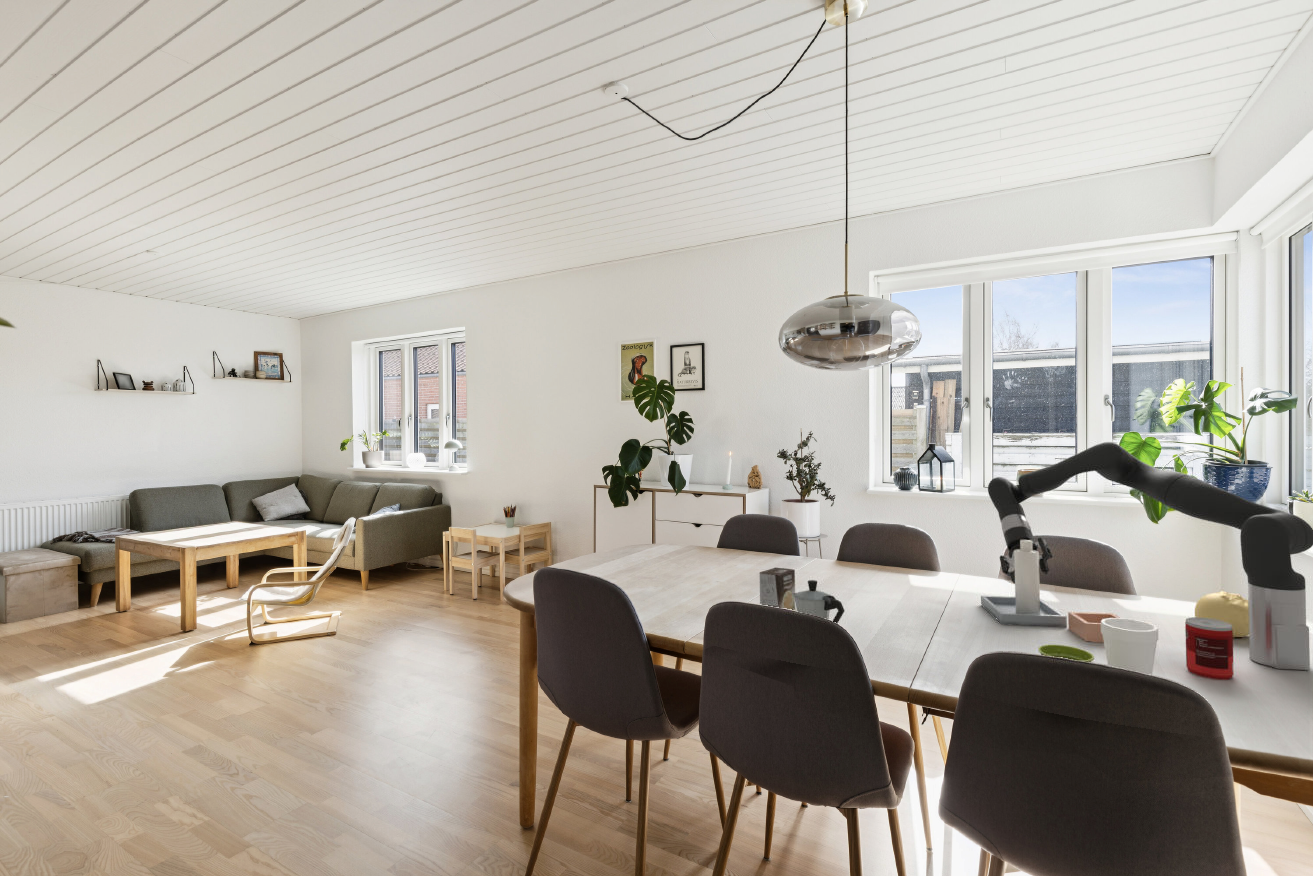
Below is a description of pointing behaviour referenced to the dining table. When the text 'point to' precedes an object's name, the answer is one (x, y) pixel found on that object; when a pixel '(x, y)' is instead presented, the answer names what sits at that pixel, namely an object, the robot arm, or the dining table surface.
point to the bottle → (1027, 579)
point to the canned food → (1209, 648)
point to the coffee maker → (817, 602)
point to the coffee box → (778, 588)
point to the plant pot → (1066, 652)
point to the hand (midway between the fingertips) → (1031, 578)
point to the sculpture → (1225, 611)
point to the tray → (1007, 614)
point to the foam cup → (1130, 643)
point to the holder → (1088, 624)
